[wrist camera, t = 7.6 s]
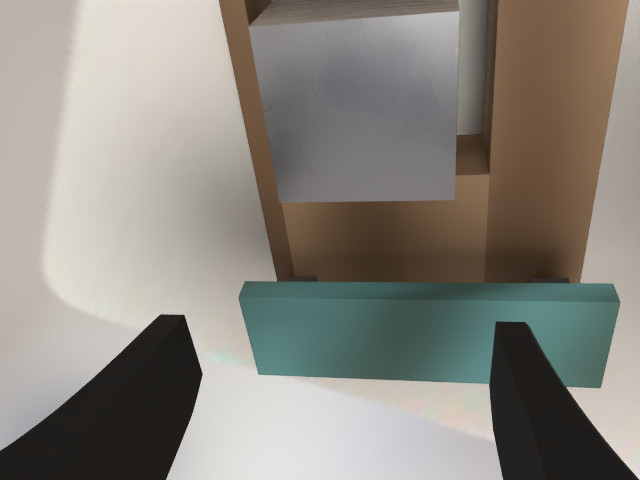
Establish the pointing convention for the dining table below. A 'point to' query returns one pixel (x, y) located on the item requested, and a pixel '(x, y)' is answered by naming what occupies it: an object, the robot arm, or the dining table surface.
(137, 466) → the robot arm
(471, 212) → the socket board
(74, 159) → the dining table surface
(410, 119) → the peg
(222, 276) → the dining table surface
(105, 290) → the dining table surface
